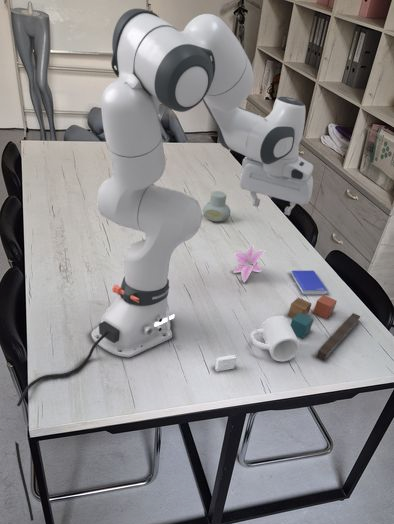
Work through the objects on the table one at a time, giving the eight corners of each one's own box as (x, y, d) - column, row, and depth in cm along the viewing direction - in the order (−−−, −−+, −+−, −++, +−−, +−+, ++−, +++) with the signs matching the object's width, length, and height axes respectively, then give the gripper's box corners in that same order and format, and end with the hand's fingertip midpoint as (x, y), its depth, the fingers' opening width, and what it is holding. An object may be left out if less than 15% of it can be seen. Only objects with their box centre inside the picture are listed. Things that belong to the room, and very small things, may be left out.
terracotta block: (326, 319, 146) (330, 306, 143) (313, 312, 148) (316, 300, 145) (332, 312, 149) (336, 300, 146) (319, 306, 151) (323, 294, 148)
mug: (285, 338, 137) (291, 314, 131) (296, 361, 129) (303, 337, 124) (244, 339, 134) (248, 315, 129) (253, 363, 127) (258, 339, 122)
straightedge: (324, 361, 130) (326, 354, 129) (316, 357, 131) (318, 350, 130) (358, 322, 146) (360, 316, 145) (350, 319, 147) (353, 312, 146)
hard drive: (328, 290, 156) (314, 270, 165) (304, 290, 154) (291, 270, 164) (326, 294, 157) (313, 274, 166) (302, 294, 155) (290, 274, 165)
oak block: (301, 322, 143) (304, 309, 141) (287, 315, 145) (291, 303, 142) (308, 315, 146) (311, 303, 143) (294, 309, 148) (298, 297, 145)
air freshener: (199, 219, 191) (202, 194, 184) (205, 211, 197) (208, 187, 191) (226, 225, 189) (230, 200, 183) (231, 217, 195) (235, 193, 189)
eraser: (234, 368, 124) (236, 357, 122) (216, 371, 123) (218, 360, 120) (232, 365, 125) (234, 354, 123) (214, 368, 124) (216, 357, 121)
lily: (231, 265, 167) (226, 247, 159) (265, 255, 166) (261, 236, 158) (238, 292, 161) (233, 275, 153) (273, 282, 160) (269, 264, 151)
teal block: (302, 338, 137) (306, 325, 134) (288, 331, 139) (292, 319, 136) (309, 331, 140) (313, 318, 137) (295, 325, 142) (299, 312, 139)
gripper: (239, 158, 131) (233, 205, 141) (313, 176, 126) (302, 224, 135) (247, 149, 135) (241, 195, 145) (319, 167, 130) (308, 213, 139)
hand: (271, 209), depth 140 cm, fingers open, 8 cm apart
